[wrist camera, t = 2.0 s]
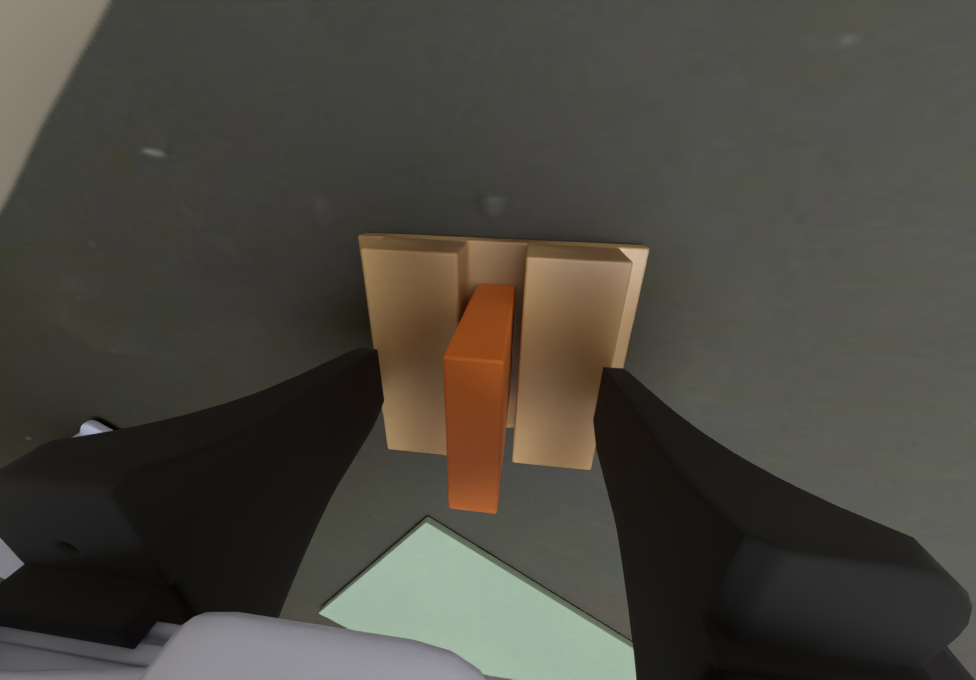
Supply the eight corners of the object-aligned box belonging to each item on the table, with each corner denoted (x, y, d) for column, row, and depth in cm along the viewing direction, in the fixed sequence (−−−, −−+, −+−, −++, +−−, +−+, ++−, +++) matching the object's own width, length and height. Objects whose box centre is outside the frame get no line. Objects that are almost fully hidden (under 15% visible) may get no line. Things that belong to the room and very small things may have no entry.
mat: (321, 607, 26) (318, 613, 25) (427, 515, 20) (425, 522, 19) (532, 716, 29) (532, 723, 29) (673, 667, 24) (675, 674, 23)
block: (476, 397, 15) (448, 509, 10) (477, 282, 13) (441, 357, 8) (509, 399, 15) (496, 515, 10) (516, 285, 13) (503, 361, 8)
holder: (386, 407, 17) (363, 447, 14) (364, 231, 13) (327, 246, 11) (605, 428, 16) (617, 474, 13) (645, 244, 12) (671, 264, 10)
